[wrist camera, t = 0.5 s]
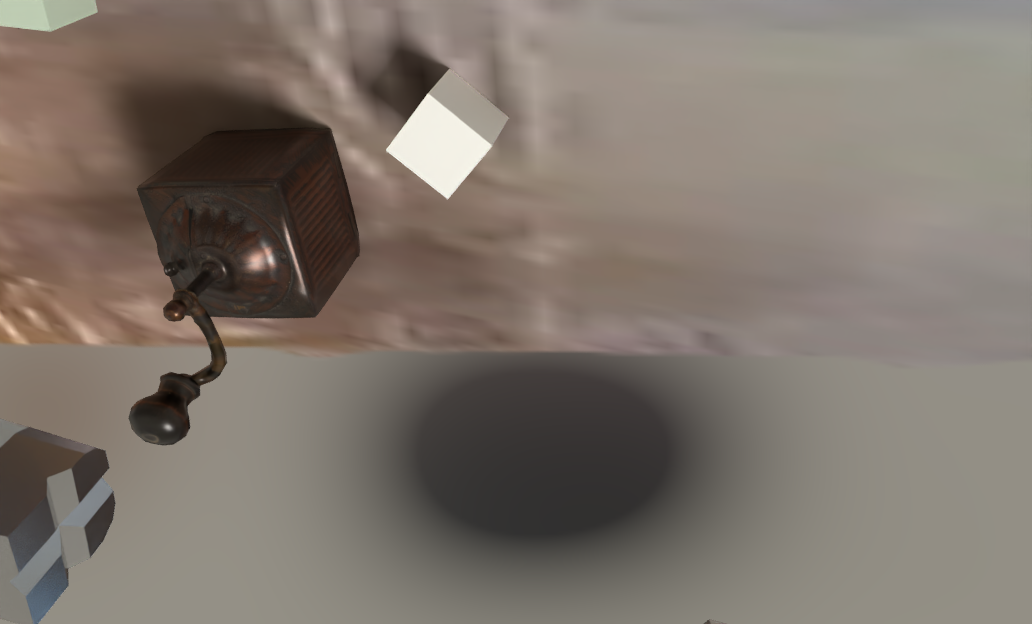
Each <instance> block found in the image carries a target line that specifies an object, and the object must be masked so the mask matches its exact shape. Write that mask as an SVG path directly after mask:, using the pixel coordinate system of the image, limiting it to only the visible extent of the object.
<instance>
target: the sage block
mask: <svg viewBox="0 0 1032 624" xmlns="http://www.w3.org/2000/svg"><path fill="white" fill-rule="evenodd" d="M97 12H98V11H97V7H96V2H95V0H0V26H7V27H16V28H24V29H33V30H42V31H50V32H51V31H53V30H56V29H58V28H61V27H63V26H65V25H68V24H70V23H73V22H75V21H78V20H80V19H83V18H85V17H87V16H90V15H92V14H95V13H97Z"/></svg>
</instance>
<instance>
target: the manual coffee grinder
mask: <svg viewBox="0 0 1032 624" xmlns="http://www.w3.org/2000/svg"><path fill="white" fill-rule="evenodd" d="M137 191H138V194H139V197H140V199H141V202H142V205H143V208H144V211H145V214H146V216H147V219H148V222H149V224H150V227H151V230H152V232H153V235H154V237H155V240H156V243H157V249H158V255H159V258H160V260H161V263H162V265H163V266H164V272H165V274H166V275H167V276H170V279H171V281H172V284H173V287H174V289H175V292H174V294H173V300H172V301H170V302H169V303H167V305H166V306H165V307H164V308H163V311H164V316H165V318H167V319H168V320H169V321H181V320H182V319H184V317H185V315H188V316H191V317H192V318H193V319H194V322H195V323H196V324H197V325H198V326H199V327H200V329H201V331H202V332H203V334H204V335H205V337H206V340H207V342H208V345H209V348H210V351H211V358H212V361H211V363H210V365H208V366H207V367H205V368H204V369H202V370H200V371H198V372H197V373H195V374H193V375H188V374H177V373H173V372H170V373H167V374H165V375H162V376H161V377H160V381H161V382H160V386H159V389H158V392H156V393H155V394H153V395H151V396H149V397H146V398H143V399H141V400H139V401H137V402H136V404H134V406H133V407H132V408H131V411H130V415H129V421H130V424H131V428H132V430H133V431H134V432H135V433H136V434H137V435H138V436H139V437H140V438H142V439H143V440H144V441H145V442H149V443H153V444H157V445H173V444H175V443H176V442H178V441H180V440H181V439H183V438H184V437H185V436H186V435H187V433H188V431H189V429H190V422H189V415H188V409H187V407H188V405H189V404H190V403H191V402H192V401H193V400H195V399H196V398H198V397H199V396H200V385H203V384H206V383H208V382H211V381H213V380H214V379H216V378H217V377H218V376H219V375H220V374H221V372H222V370H223V369H224V367H225V365H226V364H227V357H226V351H225V349H224V346H223V344H222V341H221V339H220V337H219V335H218V332H217V330H216V328H215V326H214V324H213V322H212V320H211V318H210V317H236V318H310V317H316V316H317V315H318V314H319V312H320V311H321V309H322V308H323V306H324V305H325V304H326V302H327V301H328V299H329V298H330V296H331V295H332V293H333V292H334V291H335V289H336V288H337V286H338V285H339V283H340V282H341V280H342V279H343V277H344V276H345V274H346V273H347V271H348V270H349V268H350V267H351V265H352V264H353V262H354V261H355V259H356V258H357V257H358V256H359V254H360V248H359V233H358V228H357V224H356V219H355V215H354V211H353V207H352V203H351V198H350V194H349V190H348V186H347V182H346V179H345V175H344V172H343V168H342V165H341V162H340V158H339V155H338V151H337V148H336V144H335V141H334V137H333V134H332V131H331V130H328V129H312V128H293V129H262V130H235V131H216V132H214V133H212V134H210V135H207V136H205V137H204V138H203V139H202V140H201V141H200V142H199V143H197V144H196V145H194V146H193V147H192V148H190V149H189V150H187V151H186V152H185V153H183V154H182V155H180V156H179V157H178V158H176V159H175V160H173V161H172V162H171V163H169V164H168V165H167V166H165V167H164V168H163V169H161V170H160V171H158V172H157V173H156V174H154V175H153V176H152V177H150V178H149V179H148V180H146V181H145V182H144V183H142V184H140V185H139V186H138V188H137Z"/></svg>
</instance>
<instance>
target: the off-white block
mask: <svg viewBox="0 0 1032 624" xmlns="http://www.w3.org/2000/svg"><path fill="white" fill-rule="evenodd" d="M508 118H509V117H508V116H507V115H505V114H504V113H503V112H502V111H501V110H499V109H498V108H497V107H496V106H495V105H493V104H492V103H491V102H490V101H489V100H487V99H486V98H485V97H484V96H483V95H481V94H480V93H479V92H478V91H477V90H475V89H474V88H473V87H472V86H470V85H469V84H468V83H467V82H466V81H464V80H463V79H462V78H461V77H460V76H458V75H457V74H456V73H455V72H454V71H452V70H451V69H449V70H448V71H447V72H446V73H445V74H444V75H443V77H442V78H441V79H440V80H439V81H438V82H437V83H436V85H435V86H434V87H433V88H432V89H431V90H430V91H429V93H428V94H427V95H426V97H425V98H424V99H423V101H422V102H421V103H420V105H419V106H418V107H417V109H416V110H415V112H414V113H413V114H412V116H411V117H410V118H409V120H408V121H407V122H406V124H405V125H404V126H403V128H402V129H401V130H400V132H399V133H398V135H397V136H396V137H395V139H394V140H393V141H392V143H391V144H390V145H389V147H388V148H387V149H386V151H387V152H389V153H390V154H391V155H392V156H394V157H395V158H396V159H397V160H399V161H400V162H401V163H403V164H404V165H405V166H406V167H408V168H409V169H410V170H411V171H413V172H414V173H415V174H416V175H418V176H419V177H420V178H422V179H423V180H424V181H425V182H427V183H428V184H429V185H430V186H432V187H433V188H434V189H436V190H437V191H438V192H439V193H441V194H442V195H443V196H444V197H446V198H447V199H448V198H449V197H450V196H451V195H452V193H453V192H454V191H455V190H456V189H457V187H458V186H459V185H460V184H461V183H462V182H463V180H464V179H465V178H466V177H467V176H468V174H469V173H470V172H471V171H472V170H473V168H474V167H475V166H476V165H477V164H478V162H479V161H480V160H481V159H482V158H483V156H484V155H485V154H486V153H487V152H488V150H489V149H490V148H491V147H492V146H493V144H494V142H495V140H496V139H497V137H498V135H499V134H500V132H501V130H502V129H503V127H504V125H505V123H506V122H507V120H508Z"/></svg>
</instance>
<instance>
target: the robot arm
mask: <svg viewBox="0 0 1032 624" xmlns="http://www.w3.org/2000/svg"><path fill="white" fill-rule="evenodd" d="M108 469H109V463H108V459H107V454H106V451H105V450H102V449H99V448H96V447H92V446H89V445H86V444H83V443H80V442H76V441H72V440H70V439H66V438H63V437H60V436H57V435H53V434H50V433H47V432H44V431H40V430H37V429H34V428H31V427H28V426H24V425H21V424H17V423H14V422H10V421H7V420H4V419H0V619H2V620H7V621H10V622H14V623H18V624H38V623H39V622H40V621H41V619H42V618H43V617H44V616H45V615H46V613H47V612H48V611H49V610H50V608H51V607H52V606H53V605H54V603H55V602H56V601H57V599H58V598H59V597H60V596H61V594H62V593H63V592H64V590H65V589H66V588H67V587H68V585H69V580H68V579H69V572H68V569H69V568H71V567H73V566H75V565H77V564H79V563H81V562H83V561H85V560H87V559H89V558H91V556H92V555H93V554H94V552H95V551H96V550H97V548H98V547H99V546H100V544H101V543H102V542H103V540H104V538H105V536H106V534H107V532H108V529H109V527H110V525H111V523H112V521H113V516H114V510H115V497H114V491H113V490H112V489H111V487H110V486H109V485H108V484H107V483H106V482H105V480H104V479H103V478H102V476H103V475H104V474H105V473H106V472H107V470H108ZM704 624H725V623H722V622H718V621H714V620H710V619H709V620H707V621H706V622H705V623H704Z"/></svg>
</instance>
